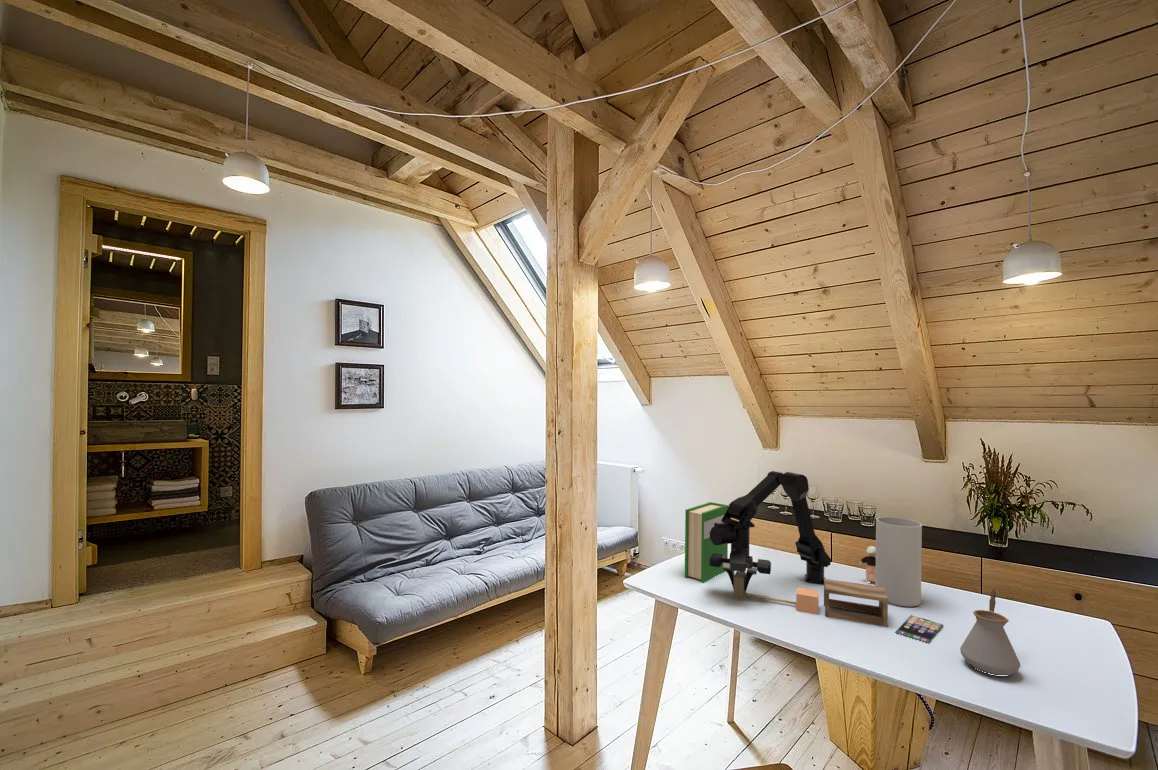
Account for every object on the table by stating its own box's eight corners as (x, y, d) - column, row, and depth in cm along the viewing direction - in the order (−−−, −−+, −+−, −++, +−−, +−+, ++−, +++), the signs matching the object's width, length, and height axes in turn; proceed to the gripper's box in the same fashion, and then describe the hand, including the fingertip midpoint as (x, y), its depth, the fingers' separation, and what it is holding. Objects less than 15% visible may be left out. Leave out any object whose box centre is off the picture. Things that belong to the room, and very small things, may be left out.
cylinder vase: (878, 603, 163) (879, 524, 163) (872, 589, 175) (873, 515, 175) (925, 610, 159) (926, 528, 159) (916, 595, 170) (916, 519, 170)
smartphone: (894, 634, 144) (894, 630, 144) (910, 618, 154) (910, 614, 154) (928, 646, 138) (928, 641, 138) (943, 628, 148) (943, 624, 148)
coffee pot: (1019, 687, 118) (1020, 621, 118) (957, 669, 125) (958, 607, 126) (1022, 652, 134) (1022, 594, 134) (966, 638, 141) (967, 582, 141)
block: (736, 592, 171) (736, 570, 171) (818, 606, 160) (818, 584, 160) (733, 598, 166) (733, 576, 166) (817, 614, 155) (818, 590, 155)
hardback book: (703, 583, 179) (704, 513, 179) (684, 577, 184) (685, 509, 184) (727, 570, 192) (728, 505, 192) (709, 565, 197) (710, 502, 197)
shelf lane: (823, 604, 162) (824, 578, 162) (882, 613, 156) (882, 587, 156) (825, 616, 154) (825, 589, 154) (887, 626, 147) (887, 598, 147)
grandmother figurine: (883, 582, 181) (883, 546, 181) (884, 586, 178) (885, 549, 178) (858, 579, 184) (858, 543, 185) (859, 582, 181) (859, 546, 181)
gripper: (706, 544, 164) (706, 594, 164) (769, 552, 157) (769, 604, 157) (712, 535, 174) (711, 582, 174) (771, 542, 167) (771, 591, 167)
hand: (739, 589), depth 168 cm, fingers closed on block, 3 cm apart
